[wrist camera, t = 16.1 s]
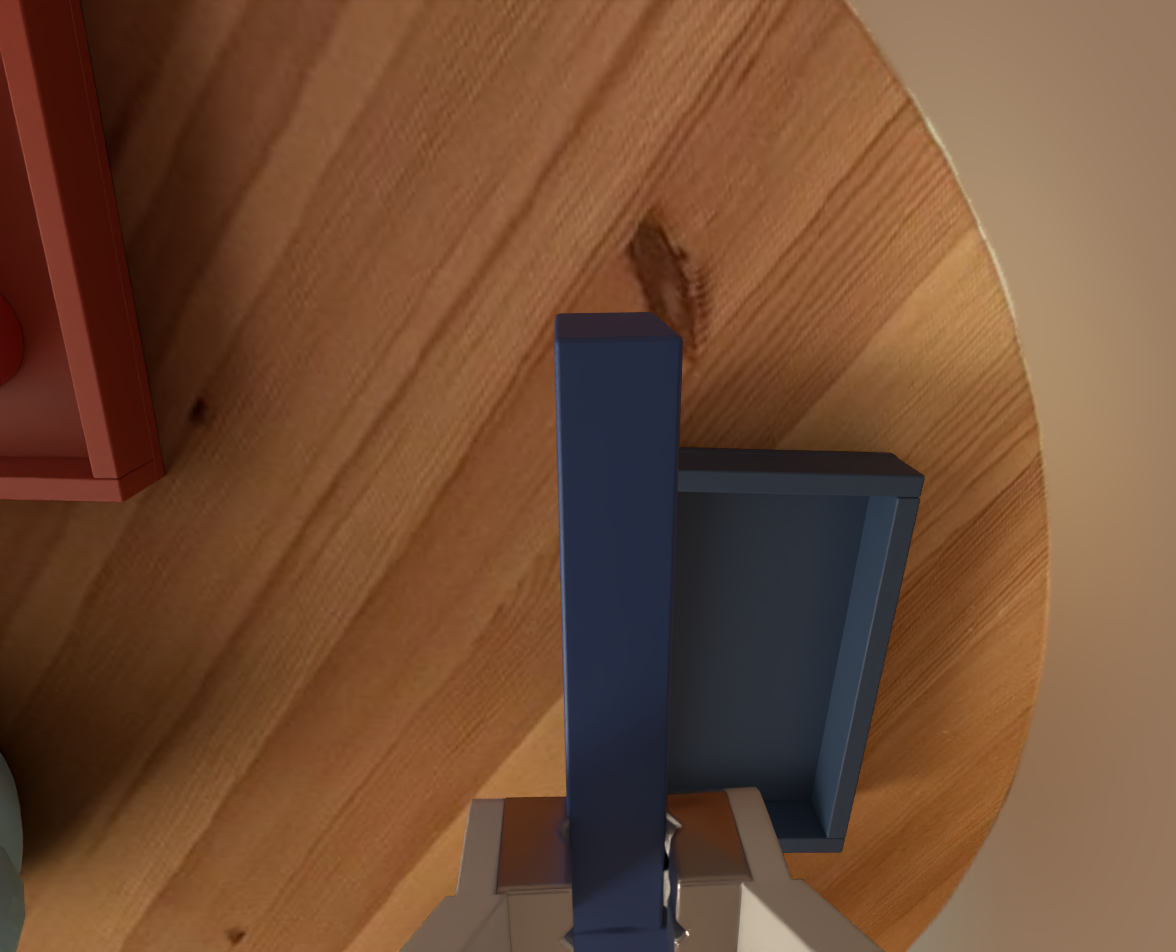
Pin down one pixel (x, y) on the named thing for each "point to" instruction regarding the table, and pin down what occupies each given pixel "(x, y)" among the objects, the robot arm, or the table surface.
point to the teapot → (10, 862)
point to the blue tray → (784, 625)
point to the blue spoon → (617, 613)
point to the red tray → (65, 277)
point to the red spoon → (9, 342)
